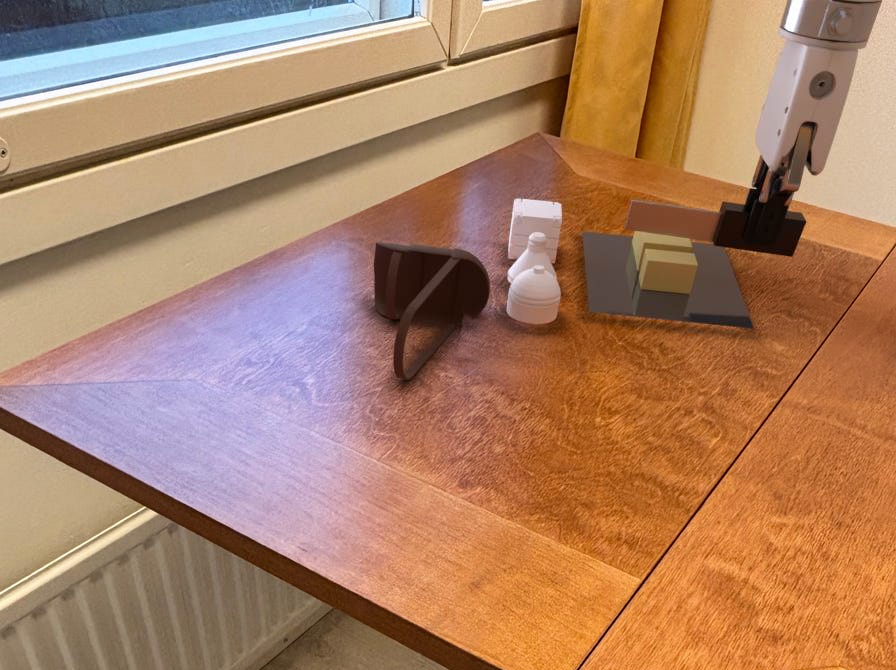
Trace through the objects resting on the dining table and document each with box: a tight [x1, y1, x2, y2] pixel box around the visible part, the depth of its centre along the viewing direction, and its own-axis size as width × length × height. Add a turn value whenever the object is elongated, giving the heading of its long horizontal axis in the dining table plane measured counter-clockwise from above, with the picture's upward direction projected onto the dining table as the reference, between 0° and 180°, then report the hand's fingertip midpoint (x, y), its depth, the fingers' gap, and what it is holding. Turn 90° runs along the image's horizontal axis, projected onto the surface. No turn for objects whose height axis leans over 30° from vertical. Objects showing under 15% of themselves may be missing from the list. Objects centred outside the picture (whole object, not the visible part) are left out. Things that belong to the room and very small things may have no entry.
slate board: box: [582, 230, 755, 330], centre depth 94 cm, size 16×21×1 cm
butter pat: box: [639, 249, 698, 294], centre depth 90 cm, size 5×3×3 cm, turn 84°
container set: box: [506, 198, 563, 325], centre depth 89 cm, size 20×5×6 cm, turn 175°
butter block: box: [632, 231, 692, 271], centre depth 95 cm, size 5×8×3 cm, turn 174°
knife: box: [624, 198, 807, 258], centre depth 89 cm, size 17×2×4 cm, turn 84°
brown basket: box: [373, 241, 491, 381], centre depth 79 cm, size 18×12×7 cm, turn 170°
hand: (756, 236), depth 89 cm, fingers closed on knife, 2 cm apart
